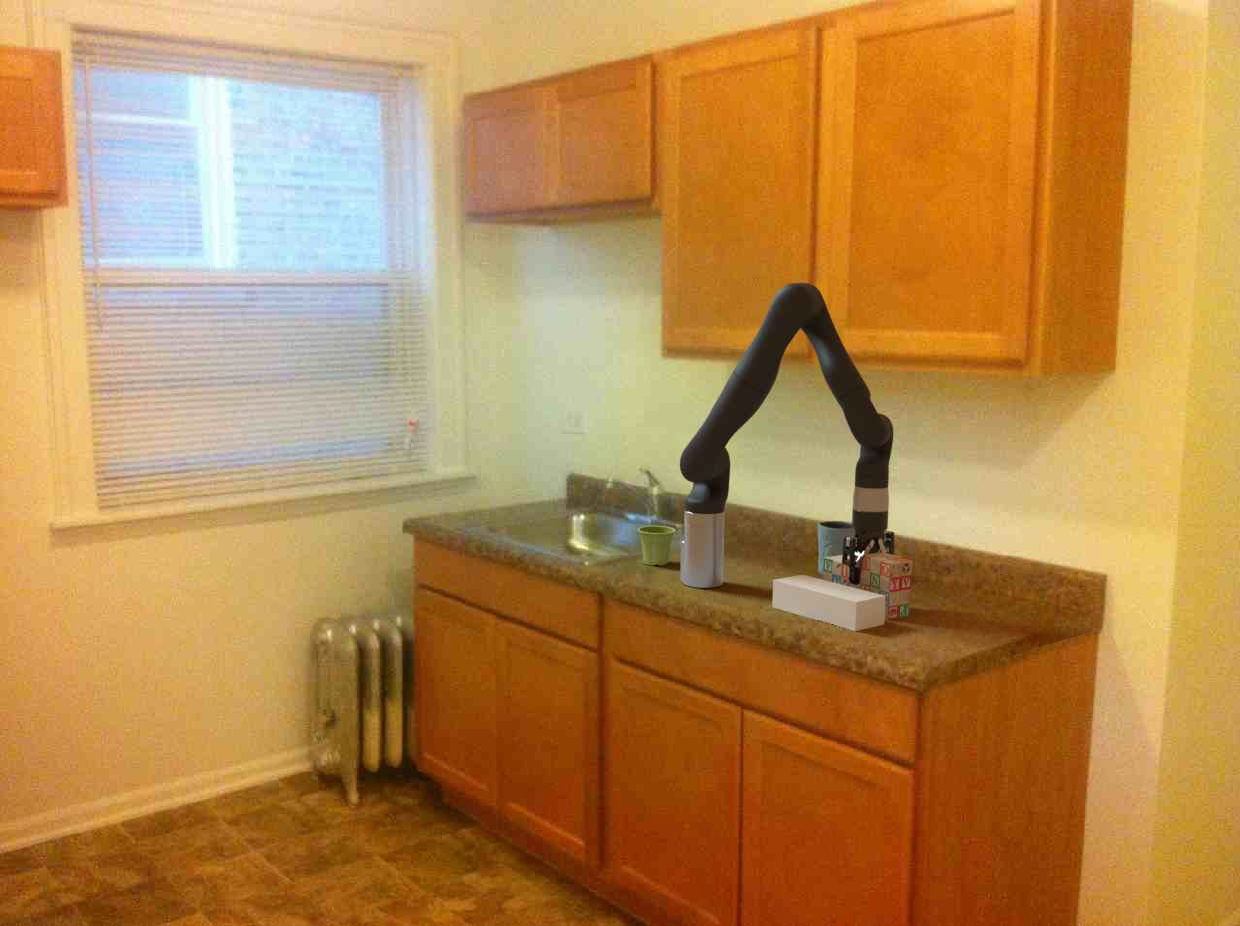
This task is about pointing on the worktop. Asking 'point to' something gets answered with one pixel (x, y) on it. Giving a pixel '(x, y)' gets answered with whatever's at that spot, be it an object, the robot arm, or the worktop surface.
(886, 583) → the stack of blocks
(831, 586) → the block
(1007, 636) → the worktop surface
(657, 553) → the plant pot
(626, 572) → the worktop surface
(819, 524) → the blue cup
